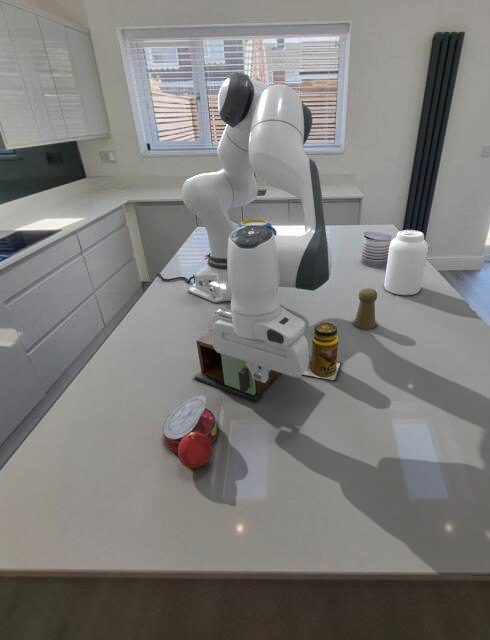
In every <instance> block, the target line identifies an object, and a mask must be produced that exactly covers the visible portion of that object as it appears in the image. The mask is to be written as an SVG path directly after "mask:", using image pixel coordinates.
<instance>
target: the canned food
mask: <svg viewBox="0 0 490 640" xmlns="http://www.w3.org/2000/svg"><path fill="white" fill-rule="evenodd" d="M206 406H207V397H206V396H205V395H203V394H200V395H199V394H198V395H195V396H192V397H190V398H188V399H186V400H185V401H183V402H181V403H180V404H179V405H178V406H177V407H175V408H174V409H173V410H172V412H171V413H170V414H169V415H168V416H167V418H166V420H165V421H164V423H163V425H162V433H163V436H164V439H165V444H166V446H167V448H168V449H169V450H171V451H173V452H174V453H177V454H178V448H179V443H180V442H181V440H182V439H183V437H185V436H186V435H187V434H189V433H191V432H199V433H203V434H204V435H205V436H207V437H208V438H209V440H210V442H211V444H213V442H214V441H215V440H216V438H217V434H218V428H217V421H216V415H215V414H214V413H213V412H212V411H211V410H210V409H209V408H207V407H206Z"/></svg>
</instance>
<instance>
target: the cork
mask: <svg viewBox="0 0 490 640" xmlns="http://www.w3.org/2000/svg"><path fill="white" fill-rule="evenodd" d="M377 299H378V292H377V291H376V289H374V288H371V287H364V288H361V289H360V290H359V292H358V300H359V302H358V303H359V304H358V307H357V311H356V315H355V320H354V326H355V327H356V328H358V329H361V330H370V329H374V328H375V327H376V306H375V303H376V301H377Z"/></svg>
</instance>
